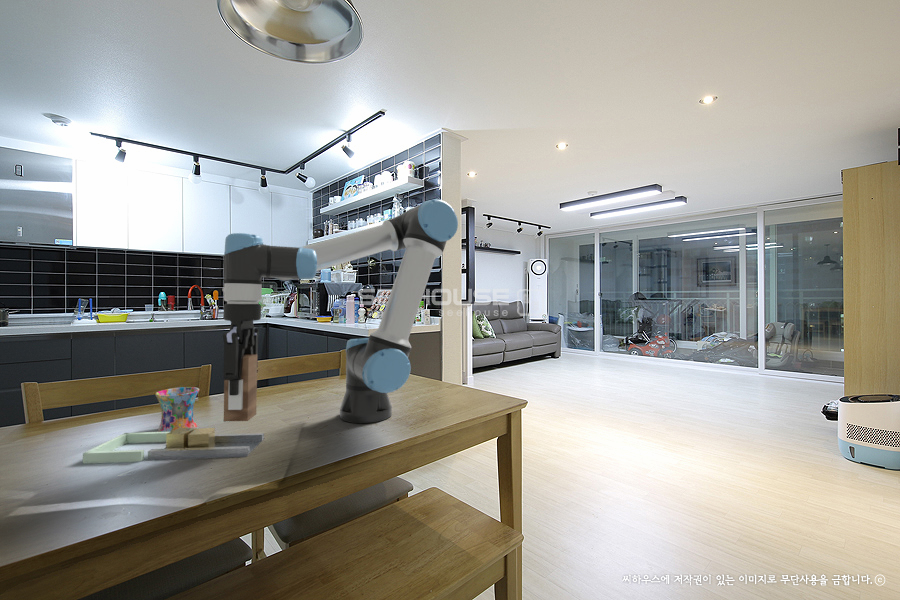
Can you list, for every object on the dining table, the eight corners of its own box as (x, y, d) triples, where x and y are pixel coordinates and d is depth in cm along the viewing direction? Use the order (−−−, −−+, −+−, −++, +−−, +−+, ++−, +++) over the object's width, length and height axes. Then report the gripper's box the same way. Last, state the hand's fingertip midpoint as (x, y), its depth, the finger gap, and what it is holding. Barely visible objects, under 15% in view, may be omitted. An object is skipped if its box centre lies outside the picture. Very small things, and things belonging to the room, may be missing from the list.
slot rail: (264, 442, 94) (264, 431, 94) (246, 461, 83) (246, 449, 83) (176, 444, 92) (176, 434, 92) (145, 464, 81) (145, 452, 81)
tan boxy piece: (214, 444, 90) (214, 427, 90) (208, 451, 86) (208, 433, 86) (195, 446, 89) (195, 428, 89) (188, 453, 85) (188, 434, 85)
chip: (196, 445, 89) (196, 428, 89) (183, 452, 85) (183, 434, 85) (180, 444, 89) (180, 427, 89) (166, 451, 86) (166, 433, 85)
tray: (175, 444, 93) (175, 431, 93) (140, 465, 81) (141, 451, 81) (125, 445, 91) (125, 432, 91) (82, 468, 79) (82, 453, 79)
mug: (191, 436, 98) (191, 394, 97) (148, 440, 95) (148, 396, 95) (207, 421, 109) (207, 383, 109) (168, 424, 107) (168, 385, 106)
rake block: (256, 414, 91) (257, 354, 91) (247, 420, 86) (248, 357, 86) (233, 414, 90) (234, 354, 90) (223, 421, 85) (224, 357, 85)
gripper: (242, 302, 97) (240, 395, 97) (204, 303, 79) (202, 418, 79) (273, 302, 98) (272, 395, 98) (243, 303, 80) (241, 417, 80)
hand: (241, 405), depth 88 cm, fingers closed on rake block, 5 cm apart
